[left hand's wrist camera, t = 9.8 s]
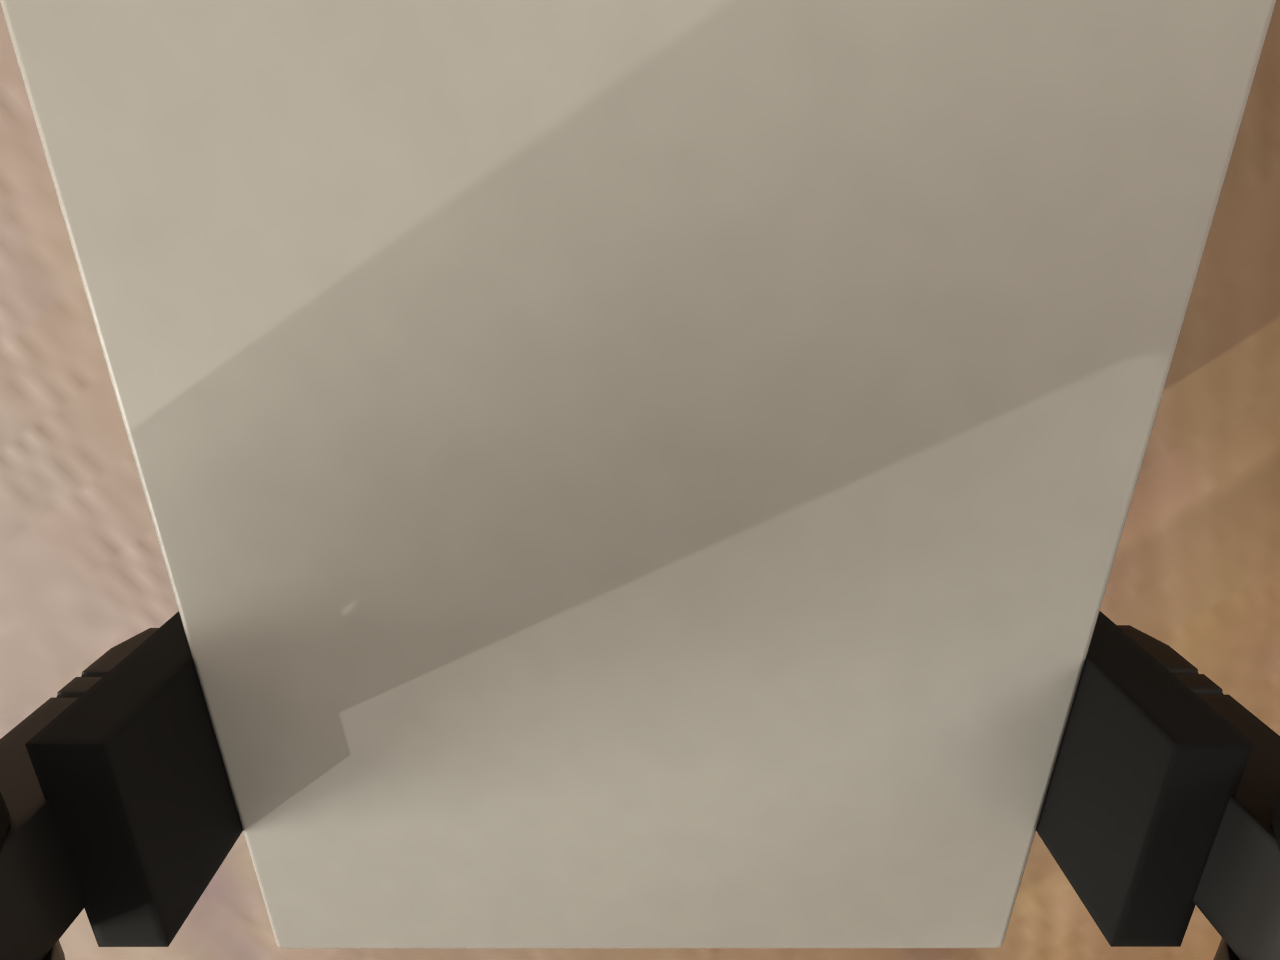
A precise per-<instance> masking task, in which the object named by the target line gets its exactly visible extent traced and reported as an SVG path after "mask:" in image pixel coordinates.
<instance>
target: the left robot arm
mask: <svg viewBox="0 0 1280 960" xmlns="http://www.w3.org/2000/svg"><path fill="white" fill-rule="evenodd" d="M57 693H58V695H57V697H56V698H50V699H49V700H48V701H46V702H45V703H44V704H43V705H42V706H40V707H39V708H38V709H37V710H36V711H34V712H33V713H32V714H31V715H29V716H28V717H27V718H26V719H25V720H23V721H22V722H21V723H20V724H18V725H17V726H16V727H15V728H14V729H12V730H11V731H10V732H9V733H7V734H6V735H5V736H4V737H3V738H1V739H0V960H65V956H64V953H63V950H62V947H61V945H60V942H59V938H60V937H61V936H62V935H63V933H64V932H65V931H66V930H67V928H68V927H69V926H70V925H71V923H72V922H73V921H74V920H75V918H76V917H77V916H78V915H79V913H80V912H81V911H82V910H83V908H85V911H86V913H87V916H88V919H89V922H90V924H91V927H92V930H93V932H94V935H95V938H96V941H97V943H98V946H99V947H168V946H169V944H170V943H171V941H172V940H173V938H174V937H175V935H176V934H177V932H178V930H179V929H180V927H181V926H182V924H183V923H184V921H185V920H186V918H187V917H188V915H189V913H190V912H191V910H192V909H193V907H194V906H195V904H196V903H197V901H198V899H199V898H200V896H201V895H202V893H203V892H204V890H205V889H206V887H207V885H208V884H209V882H210V881H211V879H212V878H213V876H214V875H215V873H216V871H217V870H218V868H219V867H220V865H221V864H222V862H223V861H224V859H225V857H226V856H227V854H228V853H229V851H230V850H231V848H232V847H233V845H234V844H235V842H236V840H237V839H238V837H239V836H240V834H241V833H242V831H243V828H242V824H241V821H240V817H239V814H238V811H237V807H236V804H235V800H234V797H233V793H232V790H231V787H230V783H229V780H228V776H227V773H226V770H225V766H224V763H223V759H222V756H221V753H220V749H219V746H218V742H217V739H216V735H215V732H214V729H213V725H212V722H211V718H210V715H209V712H208V708H207V705H206V701H205V698H204V695H203V691H202V688H201V684H200V681H199V677H198V674H197V671H196V667H195V664H194V660H193V657H192V654H191V650H190V647H189V643H188V640H187V637H186V633H185V630H184V626H183V623H182V619H181V616H180V613H179V612H178V613H176V614H175V615H174V616H173V617H172V618H171V619H169V620H168V621H167V622H166V623H165V624H164V625H162V626H161V627H160V628H149V629H148V630H146V631H144V632H142V633H140V634H138V635H136V636H134V637H132V638H130V639H128V640H126V641H124V642H123V643H121V644H119V645H117V646H115V647H113V648H111V649H110V650H109V651H107V652H106V653H105V654H104V655H103V656H101V657H100V658H99V659H98V660H96V661H95V662H94V663H93V664H92V665H90V666H89V667H88V668H87V669H85V670H84V671H83V672H82V676H81V677H76V678H74V679H73V680H72V681H71V682H70V683H68V684H67V685H66V686H65V687H64V688H62V689H61V690H60V691H59V692H57ZM1036 831H1037V832H1038V834H1039V835H1040V837H1041V839H1042V840H1043V842H1044V843H1045V845H1046V846H1047V848H1048V849H1049V851H1050V853H1051V854H1052V856H1053V857H1054V859H1055V860H1056V862H1057V863H1058V865H1059V867H1060V868H1061V870H1062V871H1063V873H1064V874H1065V876H1066V877H1067V879H1068V880H1069V882H1070V884H1071V885H1072V887H1073V888H1074V890H1075V891H1076V893H1077V894H1078V896H1079V898H1080V899H1081V901H1082V902H1083V904H1084V905H1085V907H1086V908H1087V910H1088V912H1089V913H1090V915H1091V916H1092V918H1093V919H1094V921H1095V922H1096V924H1097V926H1098V927H1099V929H1100V930H1101V932H1102V933H1103V935H1104V936H1105V938H1106V940H1107V941H1108V943H1109V944H1110V946H1181V943H1182V940H1183V938H1184V935H1185V932H1186V929H1187V927H1188V924H1189V921H1190V918H1191V916H1192V913H1193V910H1194V908H1195V905H1197V907H1198V908H1199V909H1200V910H1201V912H1202V913H1203V914H1204V915H1205V917H1206V918H1207V919H1208V920H1209V922H1210V923H1211V924H1212V925H1213V927H1214V928H1215V929H1216V930H1217V932H1218V933H1219V934H1220V935H1221V936H1222V940H1221V942H1220V945H1219V947H1218V950H1217V953H1216V955H1215V958H1214V960H1280V736H1279V735H1278V734H1276V733H1275V732H1274V731H1273V730H1271V729H1270V728H1269V727H1268V726H1267V725H1265V724H1264V723H1263V722H1262V721H1260V720H1259V719H1258V718H1257V717H1255V716H1254V715H1253V714H1252V713H1251V712H1249V711H1248V710H1247V709H1246V708H1244V707H1243V706H1242V705H1241V704H1240V703H1238V702H1237V701H1236V700H1235V699H1233V698H1232V697H1231V696H1230V695H1224V694H1223V692H1222V689H1221V688H1220V687H1219V686H1217V685H1216V684H1215V683H1214V682H1213V681H1211V680H1210V679H1209V678H1208V677H1206V676H1205V675H1204V674H1198V669H1197V668H1195V667H1194V666H1193V665H1192V664H1190V663H1189V662H1188V661H1187V660H1186V659H1184V658H1183V657H1182V656H1181V655H1179V654H1178V653H1177V652H1176V651H1175V650H1173V649H1172V648H1171V647H1170V646H1168V645H1166V644H1164V643H1162V642H1161V641H1159V640H1157V639H1155V638H1153V637H1151V636H1149V635H1147V634H1145V633H1143V632H1141V631H1139V630H1137V629H1135V628H1133V627H1131V626H1129V625H1116V624H1114V623H1113V622H1112V621H1111V620H1110V619H1109V618H1107V617H1106V616H1105V615H1104V614H1103V613H1102V612H1100V611H1099V614H1098V617H1097V621H1096V624H1095V628H1094V631H1093V635H1092V638H1091V641H1090V645H1089V648H1088V652H1087V655H1086V659H1085V662H1084V666H1083V669H1082V673H1081V676H1080V679H1079V683H1078V686H1077V690H1076V693H1075V697H1074V700H1073V704H1072V707H1071V710H1070V714H1069V717H1068V721H1067V724H1066V728H1065V731H1064V735H1063V738H1062V742H1061V745H1060V748H1059V752H1058V755H1057V759H1056V762H1055V766H1054V769H1053V773H1052V776H1051V779H1050V783H1049V786H1048V790H1047V793H1046V797H1045V800H1044V804H1043V807H1042V811H1041V814H1040V817H1039V821H1038V824H1037V828H1036Z"/></svg>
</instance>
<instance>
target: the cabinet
mask: <svg viewBox="0 0 1280 960" xmlns="http://www.w3.org/2000/svg"><path fill="white" fill-rule="evenodd" d="M0 2H1V6H2V9H3V12H4V16H5V19H6V23H7V26H8V29H9V33H10V36H11V40H12V43H13V46H14V50H15V53H16V57H17V60H18V64H19V67H20V70H21V74H22V77H23V81H24V84H25V87H26V91H27V94H28V98H29V101H30V104H31V108H32V111H33V115H34V118H35V121H36V125H37V128H38V132H39V135H40V139H41V142H42V145H43V149H44V152H45V156H46V159H47V162H48V166H49V169H50V173H51V176H52V179H53V183H54V186H55V190H56V193H57V197H58V200H59V203H60V207H61V210H62V214H63V217H64V220H65V224H66V227H67V231H68V234H69V237H70V241H71V244H72V248H73V251H74V255H75V258H76V261H77V265H78V268H79V272H80V275H81V278H82V282H83V285H84V289H85V292H86V295H87V299H88V302H89V306H90V309H91V313H92V316H93V319H94V323H95V326H96V330H97V333H98V336H99V340H100V343H101V347H102V350H103V353H104V357H105V360H106V364H107V367H108V370H109V374H110V377H111V381H112V384H113V388H114V391H115V394H116V398H117V401H118V405H119V408H120V411H121V415H122V418H123V422H124V425H125V428H126V432H127V435H128V439H129V442H130V446H131V449H132V452H133V456H134V459H135V463H136V466H137V469H138V473H139V476H140V480H141V483H142V486H143V490H144V493H145V497H146V500H147V504H148V507H149V510H150V514H151V517H152V521H153V524H154V527H155V531H156V534H157V538H158V541H159V544H160V548H161V551H162V555H163V558H164V562H165V565H166V568H167V572H168V575H169V579H170V582H171V585H172V589H173V592H174V596H175V599H176V602H177V606H178V609H179V613H180V616H181V619H182V623H183V626H184V630H185V633H186V637H187V640H188V643H189V647H190V650H191V654H192V657H193V660H194V664H195V667H196V671H197V674H198V677H199V681H200V684H201V688H202V691H203V695H204V698H205V701H206V705H207V708H208V712H209V715H210V718H211V722H212V725H213V729H214V732H215V735H216V739H217V742H218V746H219V749H220V753H221V756H222V759H223V763H224V766H225V770H226V773H227V776H228V780H229V783H230V787H231V790H232V793H233V797H234V800H235V804H236V807H237V811H238V814H239V817H240V821H241V824H242V828H243V831H244V834H245V838H246V841H247V845H248V848H249V851H250V855H251V858H252V862H253V865H254V868H255V872H256V875H257V879H258V882H259V886H260V889H261V892H262V896H263V899H264V903H265V906H266V909H267V913H268V916H269V920H270V923H271V926H272V930H273V933H274V937H275V940H276V944H277V946H278V947H280V948H283V949H343V948H998V947H1000V946H1002V945H1003V942H1004V938H1005V935H1006V931H1007V928H1008V924H1009V921H1010V917H1011V914H1012V911H1013V907H1014V904H1015V900H1016V897H1017V893H1018V890H1019V886H1020V883H1021V880H1022V876H1023V873H1024V869H1025V866H1026V862H1027V859H1028V855H1029V852H1030V848H1031V845H1032V842H1033V838H1034V835H1035V831H1036V828H1037V824H1038V821H1039V817H1040V814H1041V811H1042V807H1043V804H1044V800H1045V797H1046V793H1047V790H1048V786H1049V783H1050V779H1051V776H1052V773H1053V769H1054V766H1055V762H1056V759H1057V755H1058V752H1059V748H1060V745H1061V742H1062V738H1063V735H1064V731H1065V728H1066V724H1067V721H1068V717H1069V714H1070V710H1071V707H1072V704H1073V700H1074V697H1075V693H1076V690H1077V686H1078V683H1079V679H1080V676H1081V673H1082V669H1083V666H1084V662H1085V659H1086V655H1087V652H1088V648H1089V645H1090V641H1091V638H1092V635H1093V631H1094V628H1095V624H1096V621H1097V617H1098V614H1099V610H1100V607H1101V604H1102V600H1103V597H1104V593H1105V590H1106V586H1107V583H1108V579H1109V576H1110V572H1111V569H1112V566H1113V562H1114V559H1115V555H1116V552H1117V548H1118V545H1119V541H1120V538H1121V535H1122V531H1123V528H1124V524H1125V521H1126V517H1127V514H1128V510H1129V507H1130V503H1131V500H1132V497H1133V493H1134V490H1135V486H1136V483H1137V479H1138V476H1139V472H1140V469H1141V465H1142V462H1143V459H1144V455H1145V452H1146V448H1147V445H1148V441H1149V438H1150V434H1151V431H1152V428H1153V424H1154V421H1155V417H1156V414H1157V410H1158V407H1159V403H1160V400H1161V396H1162V393H1163V390H1164V386H1165V383H1166V379H1167V376H1168V372H1169V369H1170V365H1171V362H1172V359H1173V355H1174V352H1175V348H1176V345H1177V341H1178V338H1179V334H1180V331H1181V327H1182V324H1183V321H1184V317H1185V314H1186V310H1187V307H1188V303H1189V300H1190V296H1191V293H1192V290H1193V286H1194V283H1195V279H1196V276H1197V272H1198V269H1199V265H1200V262H1201V258H1202V255H1203V252H1204V248H1205V245H1206V241H1207V238H1208V234H1209V231H1210V227H1211V224H1212V221H1213V217H1214V214H1215V210H1216V207H1217V203H1218V200H1219V196H1220V193H1221V189H1222V186H1223V183H1224V179H1225V176H1226V172H1227V169H1228V165H1229V162H1230V158H1231V155H1232V152H1233V148H1234V145H1235V141H1236V138H1237V134H1238V131H1239V127H1240V124H1241V120H1242V117H1243V114H1244V110H1245V107H1246V103H1247V100H1248V96H1249V93H1250V89H1251V86H1252V83H1253V79H1254V76H1255V72H1256V69H1257V65H1258V62H1259V58H1260V55H1261V51H1262V48H1263V45H1264V41H1265V38H1266V34H1267V31H1268V27H1269V24H1270V20H1271V17H1272V14H1273V10H1274V7H1275V3H1276V0H0Z"/></svg>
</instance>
